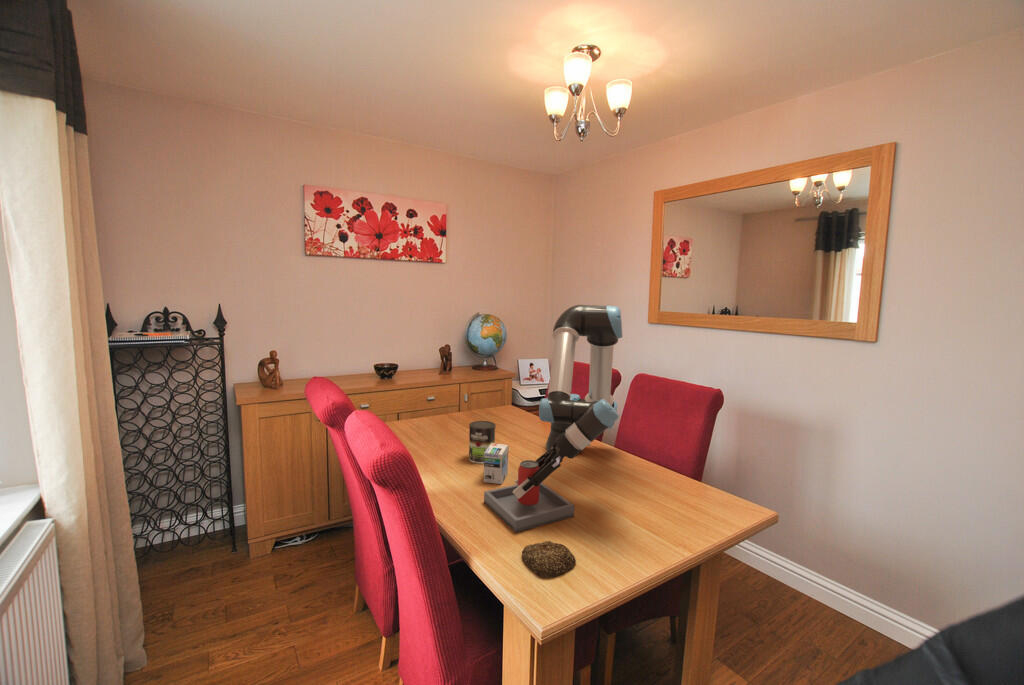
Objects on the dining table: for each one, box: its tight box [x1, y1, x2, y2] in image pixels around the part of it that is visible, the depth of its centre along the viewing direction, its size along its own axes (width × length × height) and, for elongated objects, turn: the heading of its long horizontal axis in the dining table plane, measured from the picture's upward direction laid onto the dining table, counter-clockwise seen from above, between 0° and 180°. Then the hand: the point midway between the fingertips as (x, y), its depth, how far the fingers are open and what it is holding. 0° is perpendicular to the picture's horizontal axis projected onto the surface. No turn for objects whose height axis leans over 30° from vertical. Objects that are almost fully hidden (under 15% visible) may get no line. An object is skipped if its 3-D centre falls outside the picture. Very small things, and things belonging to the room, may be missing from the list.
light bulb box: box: [483, 442, 509, 485], centre depth 158 cm, size 11×7×11 cm, turn 168°
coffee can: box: [468, 420, 496, 465], centre depth 175 cm, size 10×10×14 cm
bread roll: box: [521, 540, 577, 578], centre depth 110 cm, size 13×12×5 cm
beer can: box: [517, 459, 539, 506], centre depth 136 cm, size 7×7×12 cm
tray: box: [483, 482, 575, 534], centre depth 136 cm, size 20×20×4 cm
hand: (516, 489), depth 136 cm, fingers closed on beer can, 6 cm apart
